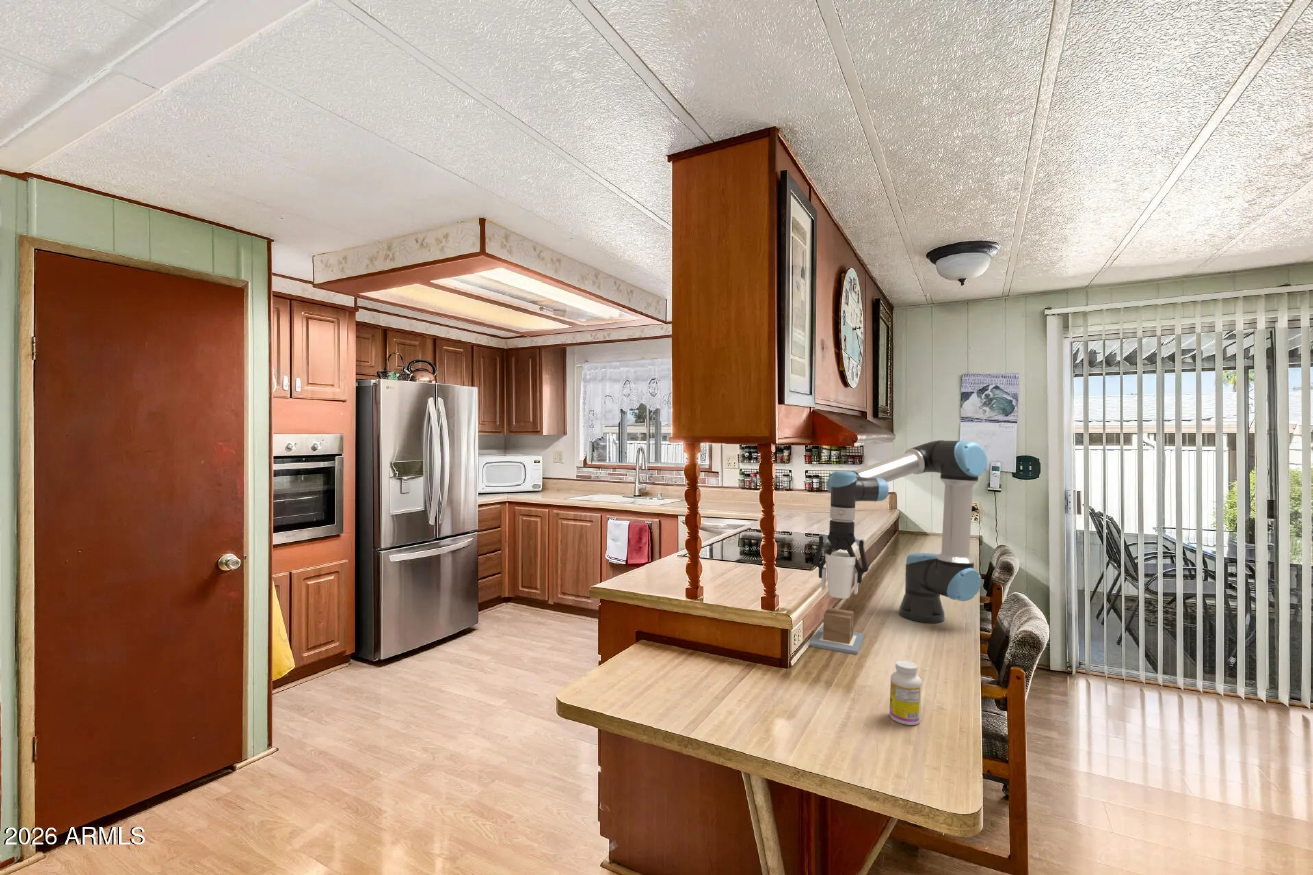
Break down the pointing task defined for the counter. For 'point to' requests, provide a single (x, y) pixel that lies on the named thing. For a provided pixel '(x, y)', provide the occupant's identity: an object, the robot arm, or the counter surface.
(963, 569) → the robot arm
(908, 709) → the supplement bottle
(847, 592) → the foam cup
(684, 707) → the counter surface
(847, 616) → the walnut cube
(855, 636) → the blue flat board
